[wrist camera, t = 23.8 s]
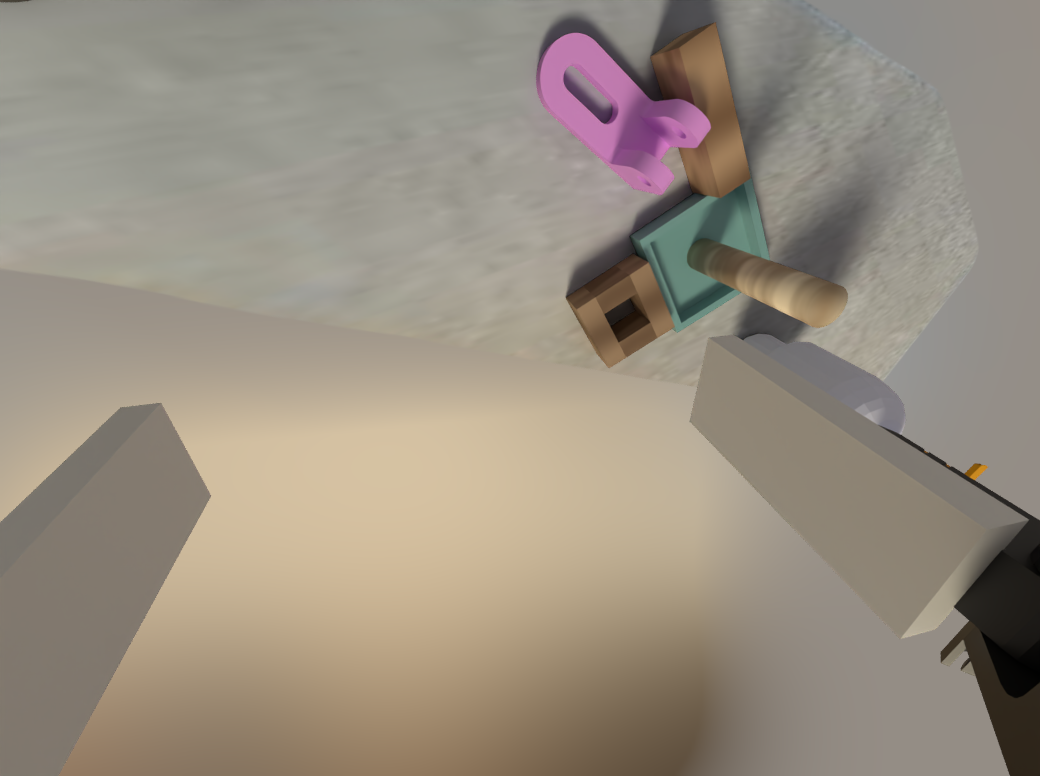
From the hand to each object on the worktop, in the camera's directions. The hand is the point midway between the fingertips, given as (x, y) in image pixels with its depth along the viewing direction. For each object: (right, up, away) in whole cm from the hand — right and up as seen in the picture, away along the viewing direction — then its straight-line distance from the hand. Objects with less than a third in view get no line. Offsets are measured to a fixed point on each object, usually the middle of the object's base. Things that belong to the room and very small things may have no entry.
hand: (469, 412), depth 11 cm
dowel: (+20, +14, +33) cm, 42 cm away
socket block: (+11, +9, +35) cm, 38 cm away
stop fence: (+16, +24, +27) cm, 40 cm away
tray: (+20, +15, +34) cm, 42 cm away
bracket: (+8, +24, +26) cm, 36 cm away
